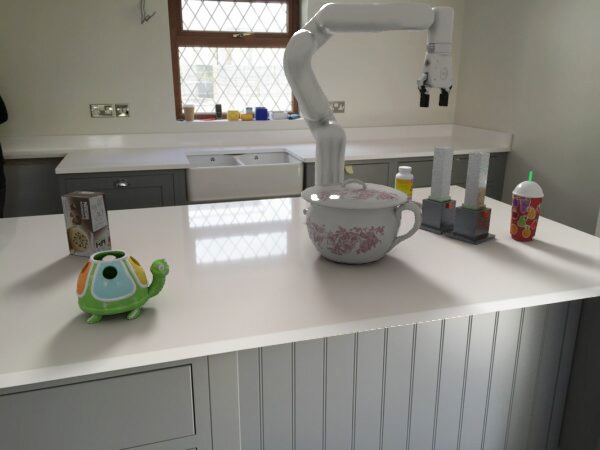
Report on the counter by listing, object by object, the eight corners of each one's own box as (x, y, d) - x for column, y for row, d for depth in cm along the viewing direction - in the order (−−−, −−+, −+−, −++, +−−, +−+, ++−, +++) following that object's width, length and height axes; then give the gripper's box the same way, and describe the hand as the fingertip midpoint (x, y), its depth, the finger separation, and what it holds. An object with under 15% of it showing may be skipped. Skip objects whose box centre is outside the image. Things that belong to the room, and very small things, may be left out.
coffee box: (113, 250, 135) (106, 192, 130) (96, 258, 129) (89, 198, 124) (85, 247, 138) (78, 189, 133) (68, 254, 132) (60, 195, 127)
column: (440, 208, 152) (445, 149, 147) (427, 205, 156) (432, 147, 151) (450, 206, 155) (455, 147, 150) (437, 202, 159) (442, 146, 153)
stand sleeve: (440, 234, 151) (443, 205, 148) (414, 226, 158) (416, 199, 156) (459, 228, 157) (462, 200, 154) (433, 221, 164) (436, 194, 162)
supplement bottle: (411, 203, 188) (414, 169, 184) (393, 202, 189) (396, 168, 185) (411, 198, 194) (414, 166, 190) (394, 198, 195) (396, 165, 191)
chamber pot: (284, 245, 140) (284, 172, 134) (369, 234, 150) (372, 166, 144) (329, 283, 115) (331, 195, 109) (427, 266, 126) (434, 185, 120)
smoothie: (537, 236, 150) (547, 170, 144) (537, 244, 142) (547, 175, 136) (507, 232, 153) (515, 168, 147) (505, 240, 146) (514, 172, 140)
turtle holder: (177, 312, 100) (173, 257, 97) (79, 330, 93) (71, 271, 90) (166, 289, 111) (163, 238, 108) (78, 303, 104) (71, 249, 101)
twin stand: (475, 244, 142) (485, 156, 135) (445, 236, 149) (453, 152, 142) (494, 238, 148) (505, 153, 140) (465, 230, 155) (474, 149, 148)
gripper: (430, 48, 147) (426, 108, 152) (465, 50, 157) (459, 106, 162) (410, 49, 153) (406, 107, 158) (445, 51, 163) (440, 105, 168)
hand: (433, 106), depth 160 cm, fingers open, 9 cm apart
